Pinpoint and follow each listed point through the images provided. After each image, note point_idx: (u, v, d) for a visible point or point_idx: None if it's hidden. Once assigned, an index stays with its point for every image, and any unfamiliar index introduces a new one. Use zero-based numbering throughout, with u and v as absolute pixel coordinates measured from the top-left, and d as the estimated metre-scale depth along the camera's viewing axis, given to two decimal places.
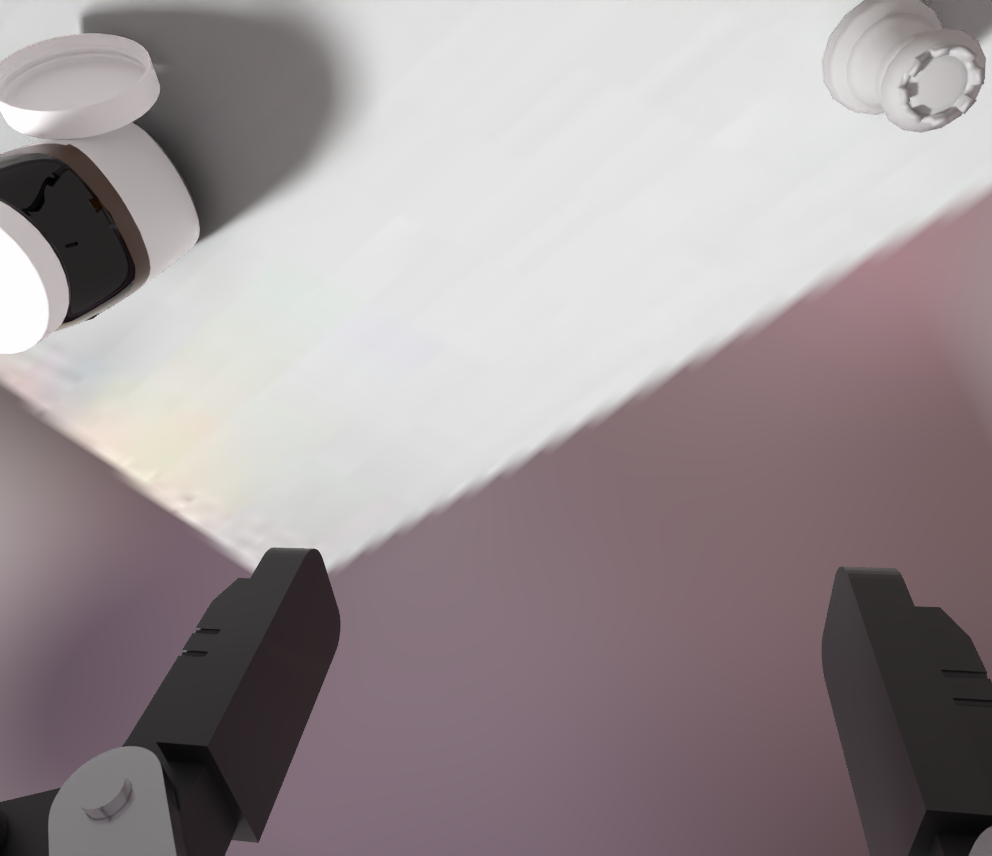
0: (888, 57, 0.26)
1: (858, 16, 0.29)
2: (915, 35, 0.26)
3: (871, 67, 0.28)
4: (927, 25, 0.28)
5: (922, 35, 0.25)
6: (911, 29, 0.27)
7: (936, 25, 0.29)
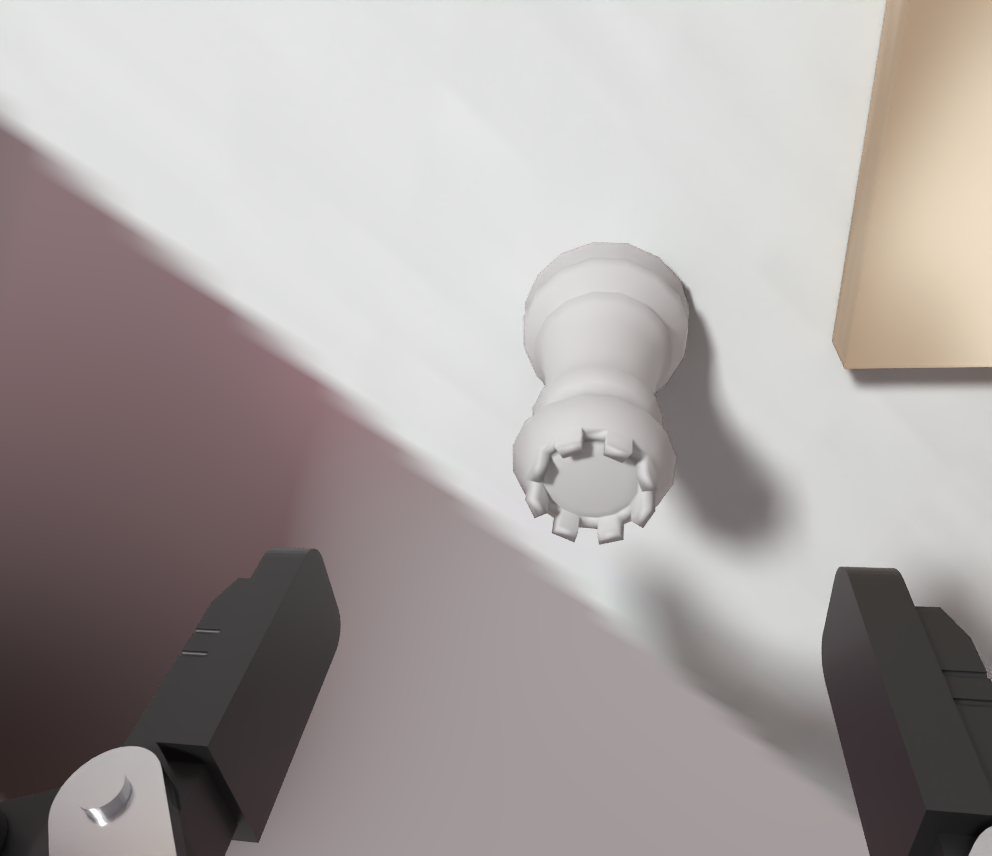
0: (621, 377, 0.15)
1: (661, 283, 0.18)
2: (655, 404, 0.15)
3: (597, 341, 0.17)
4: (655, 385, 0.19)
5: (665, 434, 0.14)
6: (655, 379, 0.17)
7: None
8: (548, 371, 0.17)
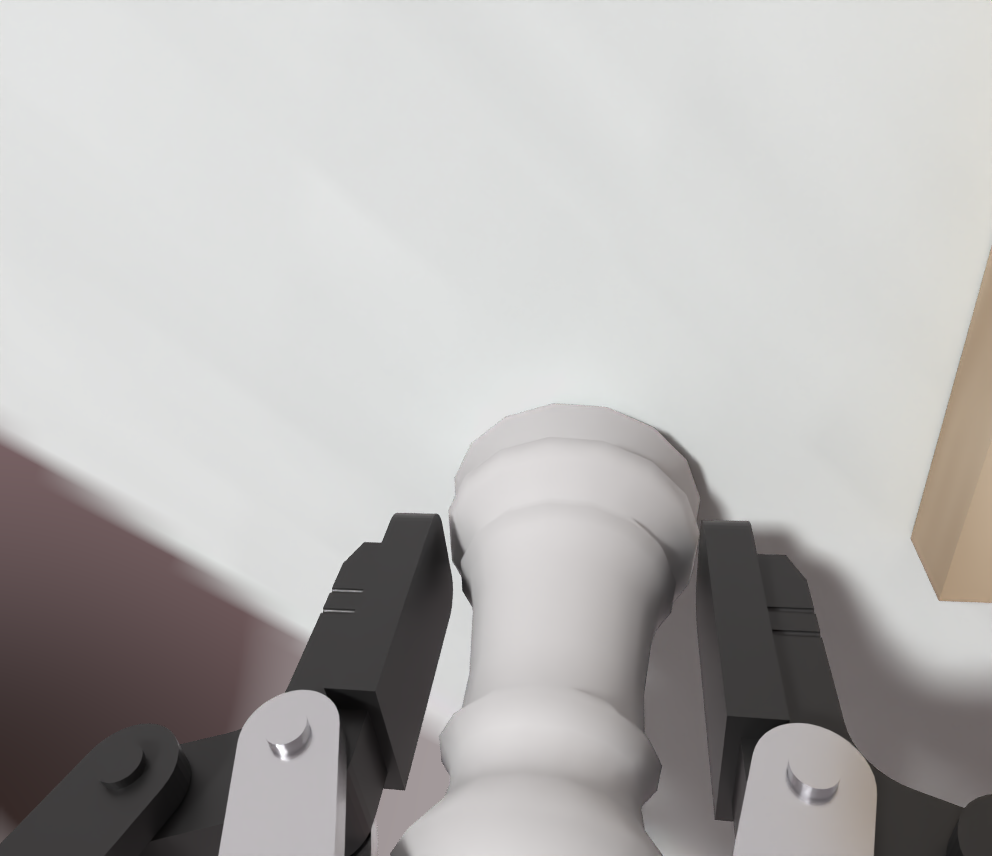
0: (588, 715, 0.09)
1: (658, 480, 0.12)
2: (649, 753, 0.09)
3: (551, 610, 0.10)
4: None
5: None
6: (648, 658, 0.10)
7: None
8: (474, 642, 0.11)
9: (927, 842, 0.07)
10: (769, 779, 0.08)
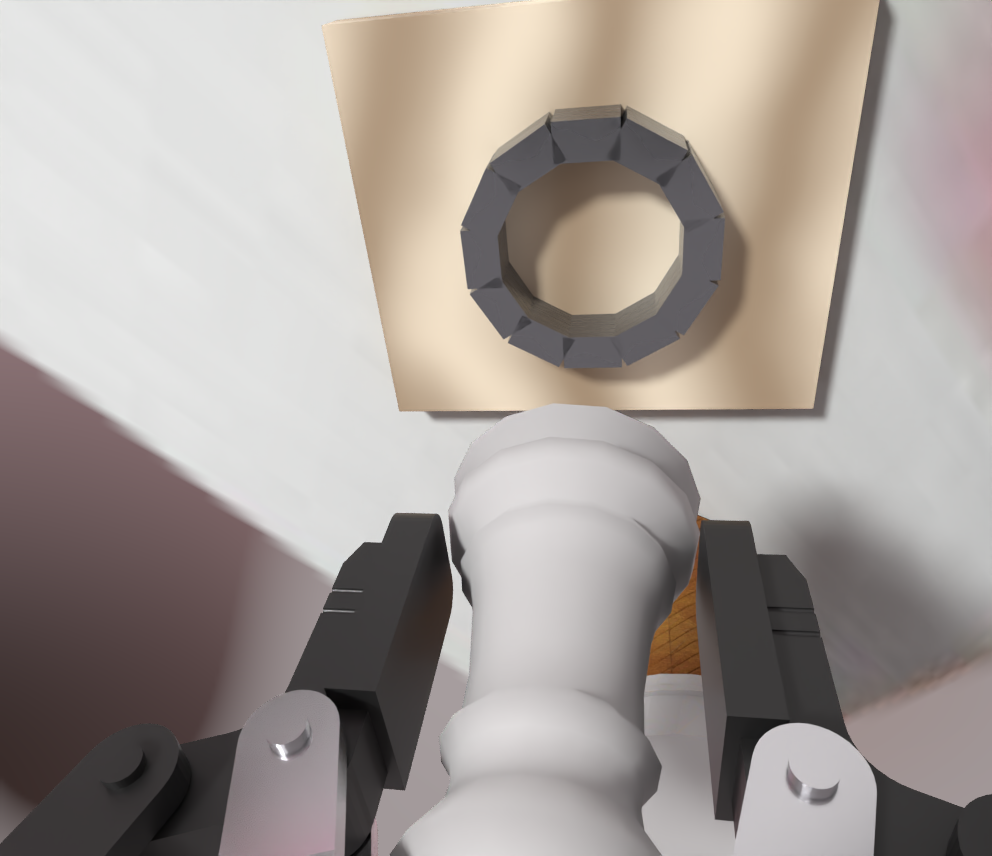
0: (588, 715, 0.09)
1: (658, 480, 0.11)
2: (649, 753, 0.09)
3: (551, 611, 0.10)
4: None
5: None
6: (648, 658, 0.10)
7: None
8: (474, 642, 0.10)
9: (927, 841, 0.07)
10: (769, 778, 0.08)
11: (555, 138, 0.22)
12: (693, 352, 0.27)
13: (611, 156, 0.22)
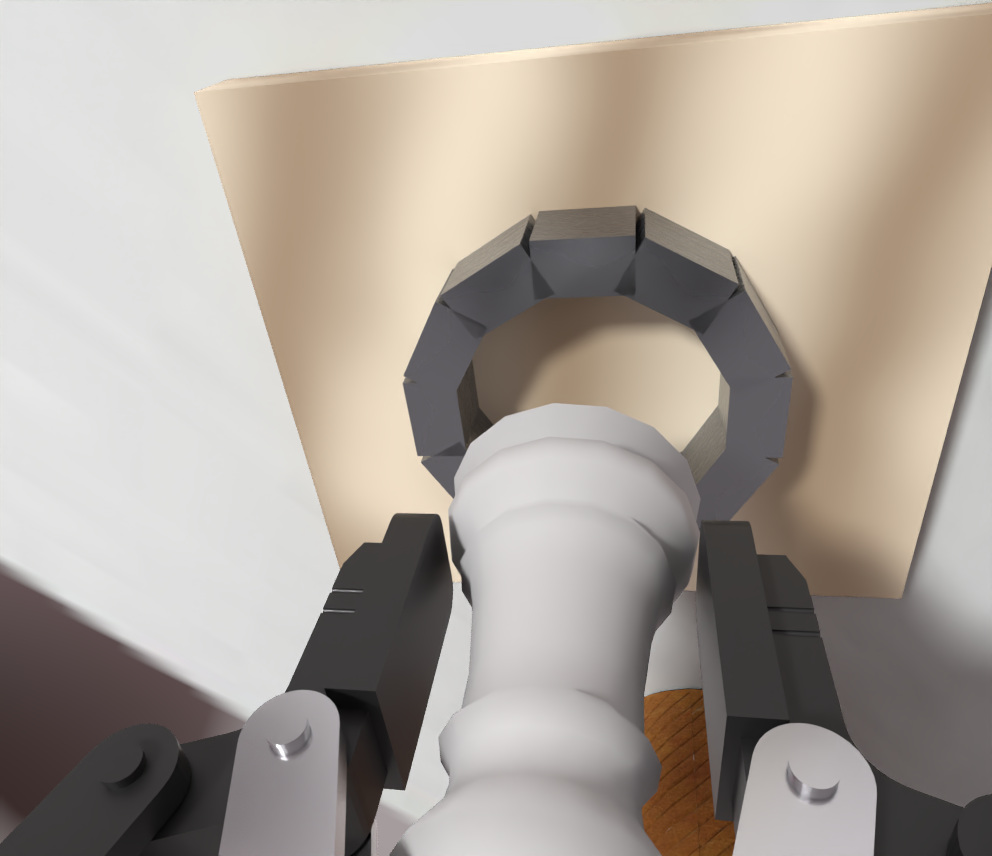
0: (588, 716, 0.09)
1: (658, 480, 0.11)
2: (649, 754, 0.09)
3: (551, 610, 0.10)
4: None
5: None
6: (648, 658, 0.10)
7: None
8: (473, 642, 0.10)
9: (927, 841, 0.07)
10: (769, 778, 0.08)
11: (536, 263, 0.14)
12: None
13: (621, 290, 0.14)
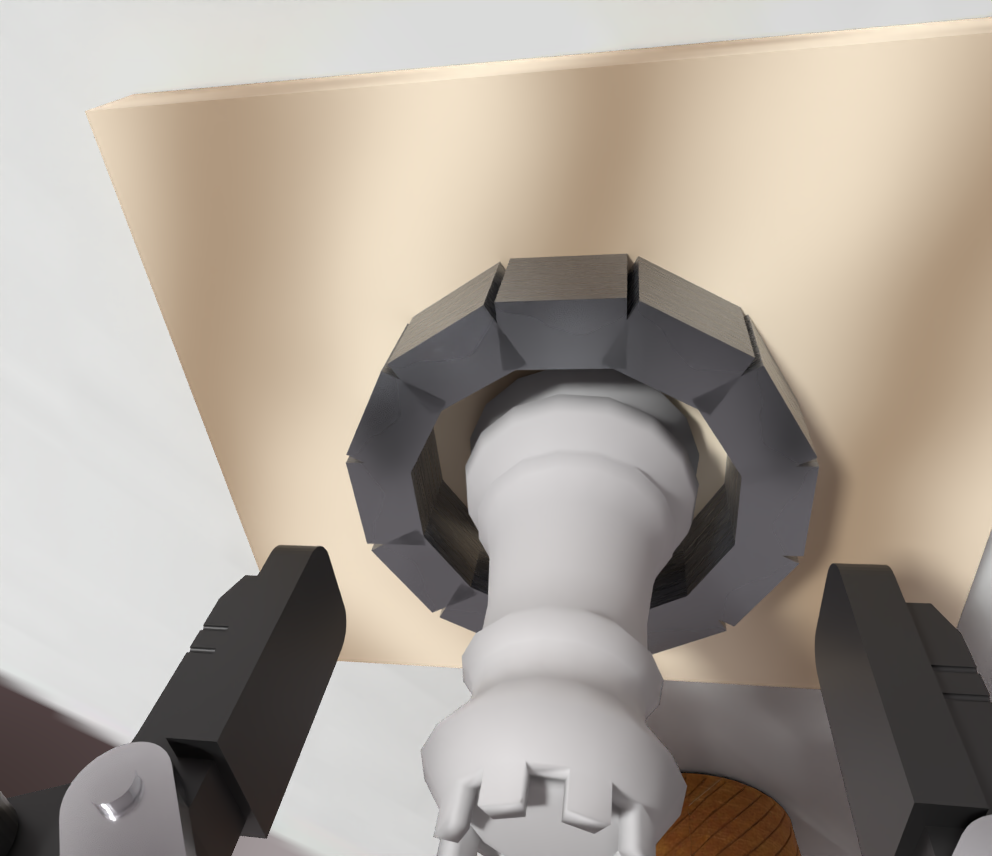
0: (597, 630, 0.10)
1: (659, 433, 0.12)
2: (652, 666, 0.10)
3: (563, 544, 0.11)
4: None
5: (668, 759, 0.08)
6: (651, 591, 0.11)
7: None
8: (491, 577, 0.11)
9: None
10: None
11: (504, 329, 0.12)
12: None
13: (609, 362, 0.12)
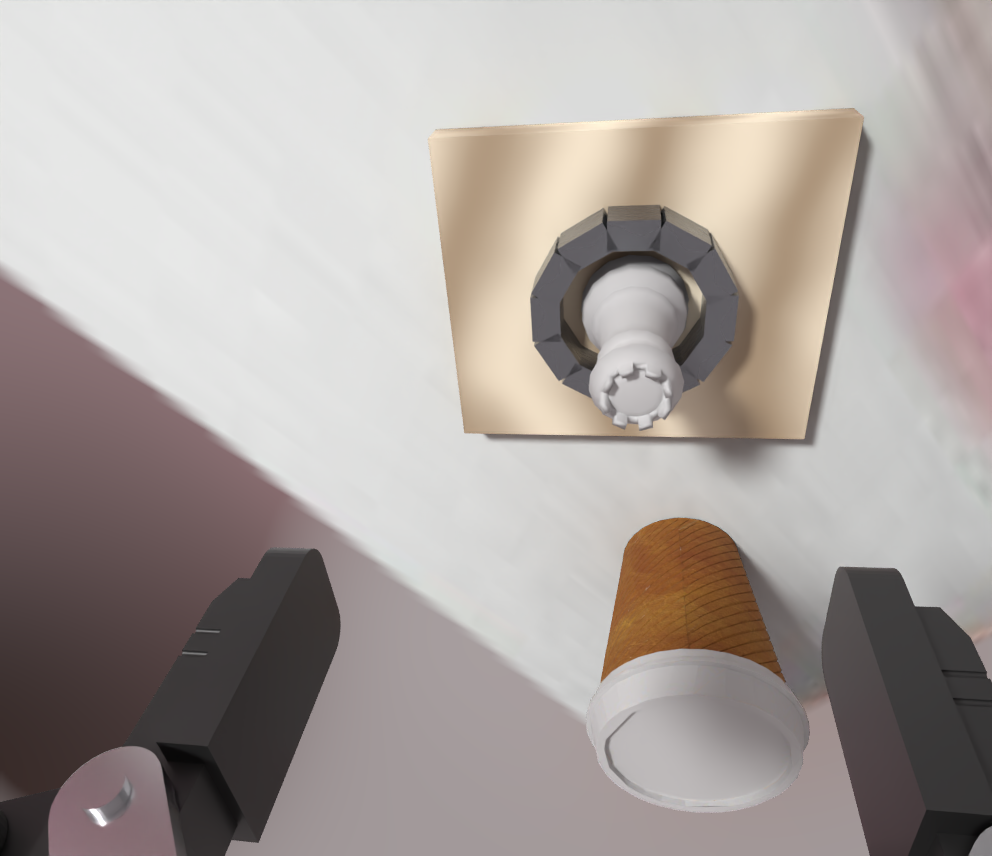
0: (652, 336, 0.26)
1: (672, 282, 0.29)
2: (671, 353, 0.26)
3: (635, 316, 0.27)
4: None
5: (678, 367, 0.25)
6: (669, 340, 0.28)
7: None
8: (604, 334, 0.28)
9: None
10: None
11: (610, 233, 0.28)
12: (709, 392, 0.34)
13: (652, 247, 0.28)
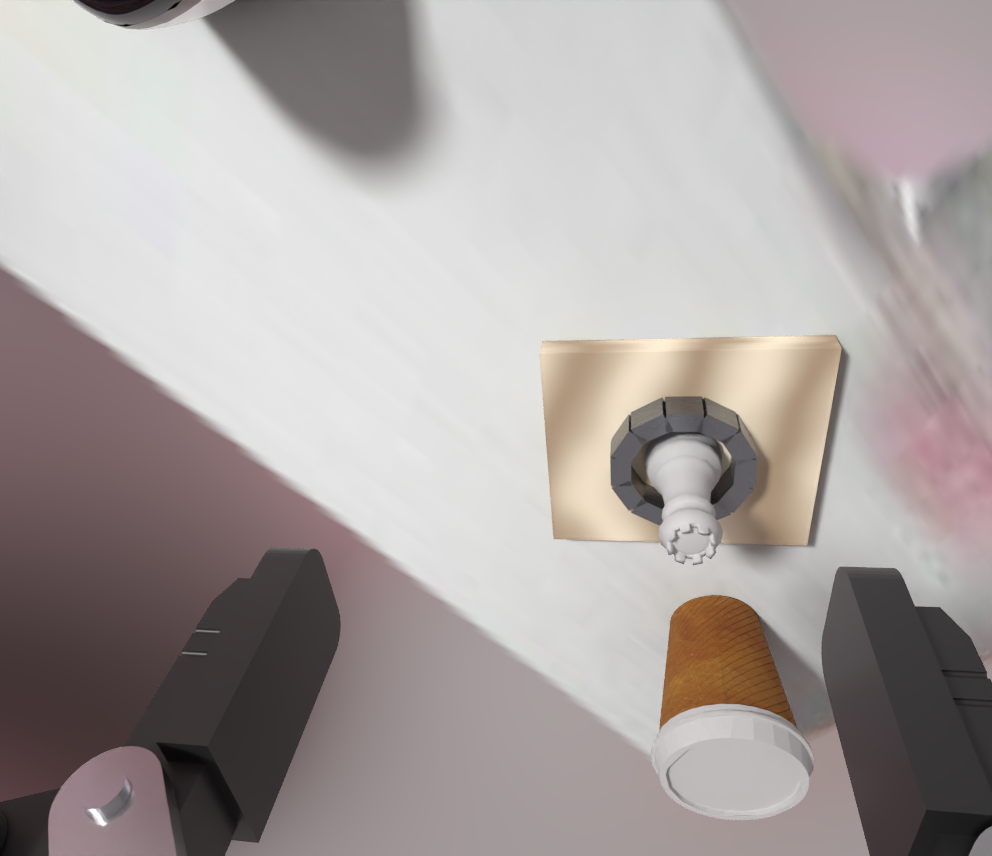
0: (700, 499, 0.39)
1: (711, 450, 0.42)
2: (713, 509, 0.39)
3: (687, 480, 0.40)
4: None
5: (719, 524, 0.38)
6: (710, 494, 0.41)
7: None
8: (665, 490, 0.41)
9: None
10: None
11: (668, 420, 0.41)
12: (736, 514, 0.46)
13: (698, 430, 0.41)
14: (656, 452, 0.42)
